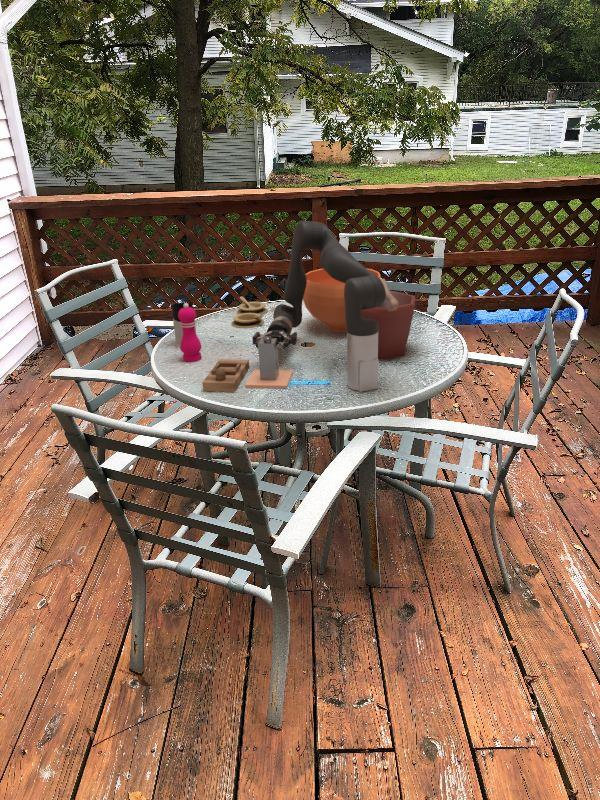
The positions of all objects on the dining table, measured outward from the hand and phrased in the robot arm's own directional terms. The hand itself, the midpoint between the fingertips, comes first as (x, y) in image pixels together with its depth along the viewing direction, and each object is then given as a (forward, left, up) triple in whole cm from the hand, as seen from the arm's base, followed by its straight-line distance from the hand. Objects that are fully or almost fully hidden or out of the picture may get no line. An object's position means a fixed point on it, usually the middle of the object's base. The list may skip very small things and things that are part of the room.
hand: (271, 346), depth 200 cm
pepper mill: (+26, +21, -10) cm, 35 cm away
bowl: (+33, -40, -10) cm, 53 cm away
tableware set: (+64, -13, -10) cm, 67 cm away
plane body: (+2, +15, -9) cm, 18 cm away
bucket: (+2, -40, -10) cm, 42 cm away
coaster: (-5, +3, -9) cm, 11 cm away
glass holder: (+40, +19, -10) cm, 45 cm away
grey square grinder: (-5, +3, -8) cm, 10 cm away
